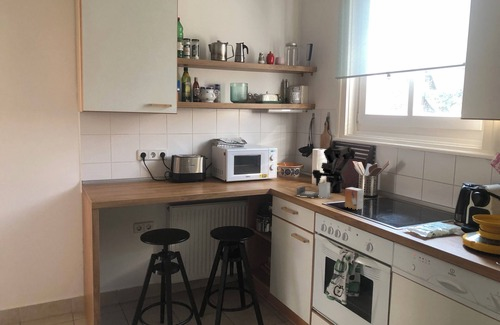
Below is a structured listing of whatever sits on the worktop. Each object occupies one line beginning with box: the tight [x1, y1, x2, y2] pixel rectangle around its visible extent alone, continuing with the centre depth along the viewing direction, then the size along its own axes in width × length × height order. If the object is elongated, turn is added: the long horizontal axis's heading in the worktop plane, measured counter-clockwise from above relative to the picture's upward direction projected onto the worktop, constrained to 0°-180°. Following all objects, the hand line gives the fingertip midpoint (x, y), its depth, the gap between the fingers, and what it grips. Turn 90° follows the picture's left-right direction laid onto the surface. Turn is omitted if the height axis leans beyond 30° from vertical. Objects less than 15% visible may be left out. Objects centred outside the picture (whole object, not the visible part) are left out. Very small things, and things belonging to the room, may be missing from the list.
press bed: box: [295, 185, 319, 198], centre depth 252 cm, size 10×11×5 cm
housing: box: [318, 180, 331, 199], centre depth 247 cm, size 5×5×10 cm
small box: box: [344, 186, 365, 211], centre depth 221 cm, size 8×6×10 cm
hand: (323, 186), depth 246 cm, fingers open, 9 cm apart
